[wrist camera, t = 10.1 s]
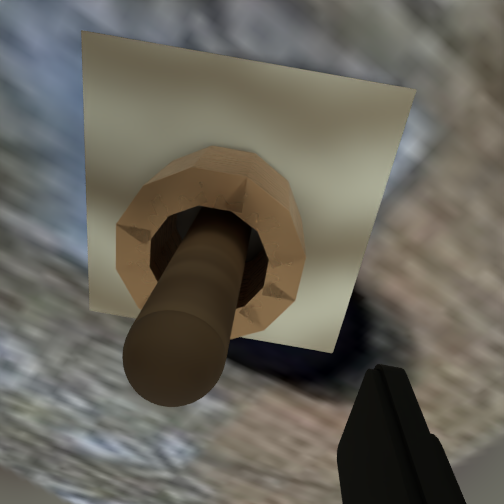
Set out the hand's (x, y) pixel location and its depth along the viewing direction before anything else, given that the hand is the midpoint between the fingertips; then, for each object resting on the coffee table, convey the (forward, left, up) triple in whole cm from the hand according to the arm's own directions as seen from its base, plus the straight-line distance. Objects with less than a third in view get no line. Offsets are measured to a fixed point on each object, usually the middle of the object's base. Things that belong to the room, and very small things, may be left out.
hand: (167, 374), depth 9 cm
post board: (0, 0, -13) cm, 13 cm away
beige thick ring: (0, 0, -10) cm, 10 cm away
